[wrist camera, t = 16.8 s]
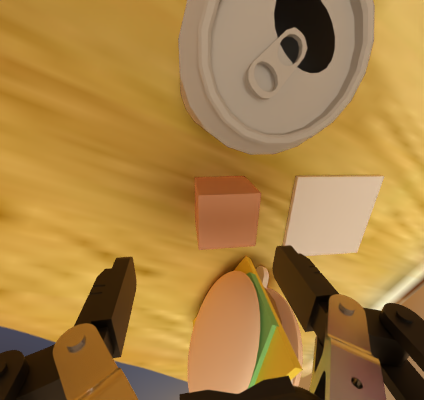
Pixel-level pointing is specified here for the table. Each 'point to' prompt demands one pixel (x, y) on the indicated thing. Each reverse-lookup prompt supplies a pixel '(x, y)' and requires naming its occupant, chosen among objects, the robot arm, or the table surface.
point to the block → (226, 212)
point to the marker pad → (330, 213)
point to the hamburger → (243, 334)
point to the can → (272, 67)
